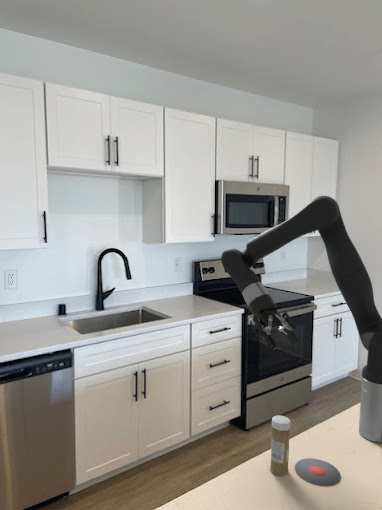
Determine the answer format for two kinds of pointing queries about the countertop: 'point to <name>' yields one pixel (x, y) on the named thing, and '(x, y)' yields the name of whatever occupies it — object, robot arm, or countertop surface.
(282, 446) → the sprinkles bottle
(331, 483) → the coaster
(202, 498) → the countertop surface
